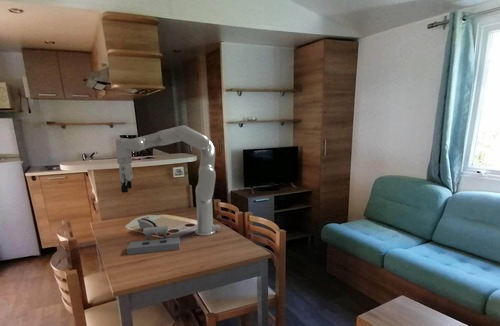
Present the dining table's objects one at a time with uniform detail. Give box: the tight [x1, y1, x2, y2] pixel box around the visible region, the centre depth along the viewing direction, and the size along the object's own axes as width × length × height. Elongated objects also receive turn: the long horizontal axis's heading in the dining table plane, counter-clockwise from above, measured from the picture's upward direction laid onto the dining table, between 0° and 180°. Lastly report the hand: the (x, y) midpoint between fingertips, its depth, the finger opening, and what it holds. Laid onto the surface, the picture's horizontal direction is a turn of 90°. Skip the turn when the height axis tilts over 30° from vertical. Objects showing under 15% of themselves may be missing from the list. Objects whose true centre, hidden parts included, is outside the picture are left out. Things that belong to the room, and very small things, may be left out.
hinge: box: [137, 217, 160, 235], centre depth 173 cm, size 17×5×10 cm, turn 55°
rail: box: [126, 236, 181, 256], centre depth 148 cm, size 26×8×4 cm, turn 103°
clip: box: [142, 225, 169, 241], centre depth 156 cm, size 13×3×8 cm, turn 102°
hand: (126, 190), depth 157 cm, fingers open, 9 cm apart
